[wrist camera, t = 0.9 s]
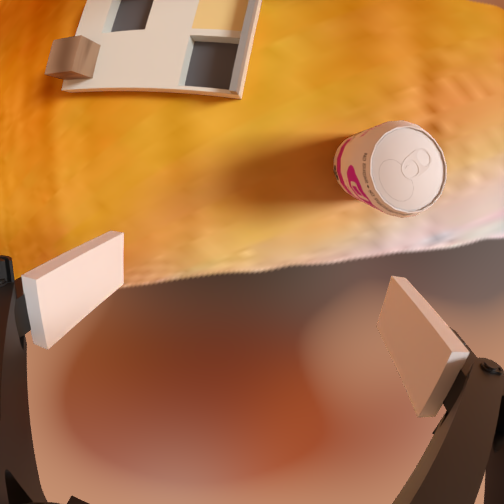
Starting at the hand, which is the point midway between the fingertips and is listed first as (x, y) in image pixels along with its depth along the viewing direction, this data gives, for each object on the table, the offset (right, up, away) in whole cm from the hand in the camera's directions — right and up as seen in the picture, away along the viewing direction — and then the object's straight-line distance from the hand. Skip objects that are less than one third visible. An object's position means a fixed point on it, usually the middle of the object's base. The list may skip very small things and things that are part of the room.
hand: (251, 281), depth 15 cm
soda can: (+14, +12, +22) cm, 29 cm away
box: (-13, +30, +19) cm, 38 cm away
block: (-23, +27, +18) cm, 40 cm away
